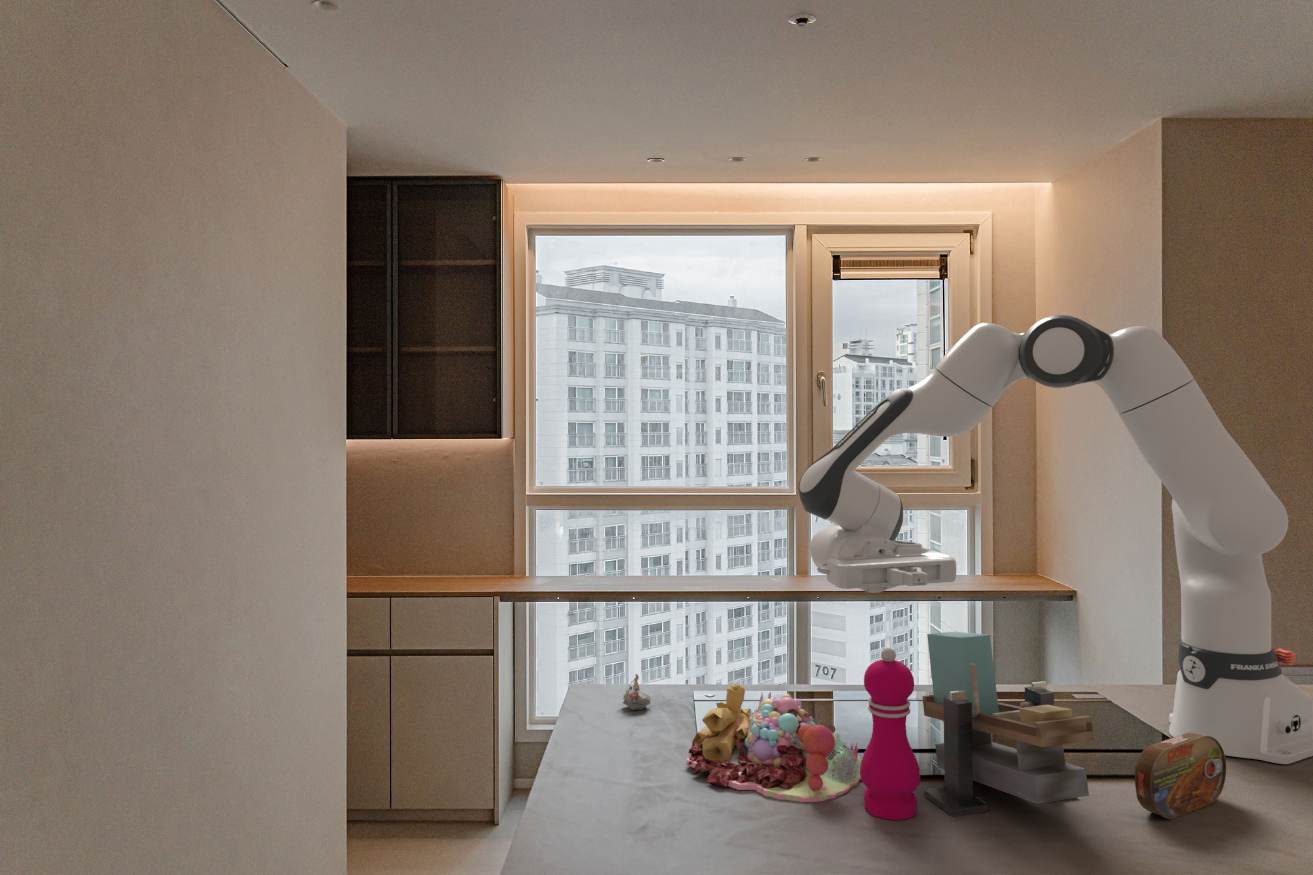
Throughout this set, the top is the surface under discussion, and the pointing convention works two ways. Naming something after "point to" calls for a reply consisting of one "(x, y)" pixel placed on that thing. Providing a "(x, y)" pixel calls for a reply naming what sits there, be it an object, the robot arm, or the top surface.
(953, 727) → the fulcrum
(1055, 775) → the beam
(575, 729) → the top surface
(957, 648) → the teal rectangular block
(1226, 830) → the top surface
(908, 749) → the pepper mill
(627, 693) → the figurine
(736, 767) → the candy landscape model
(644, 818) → the top surface
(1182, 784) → the tin
